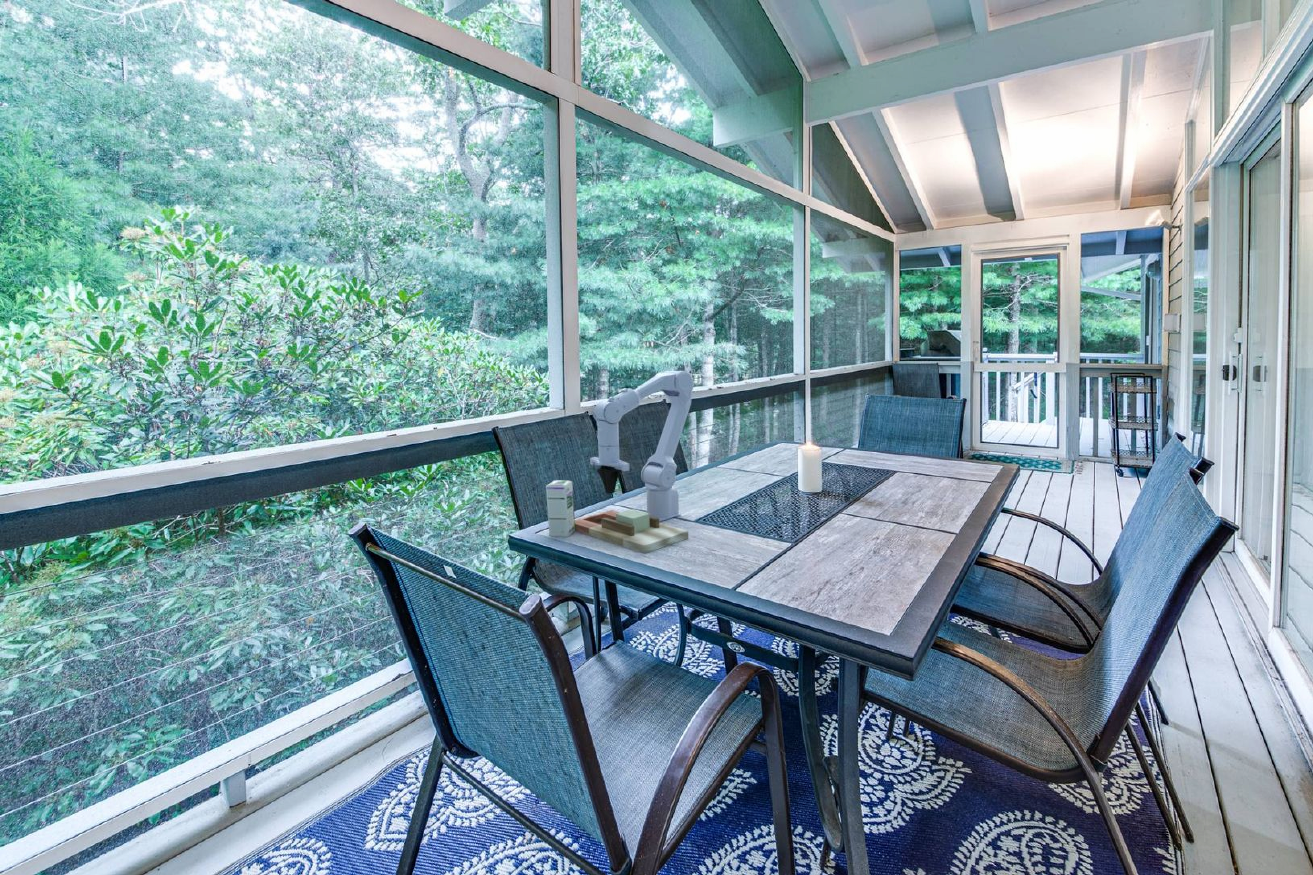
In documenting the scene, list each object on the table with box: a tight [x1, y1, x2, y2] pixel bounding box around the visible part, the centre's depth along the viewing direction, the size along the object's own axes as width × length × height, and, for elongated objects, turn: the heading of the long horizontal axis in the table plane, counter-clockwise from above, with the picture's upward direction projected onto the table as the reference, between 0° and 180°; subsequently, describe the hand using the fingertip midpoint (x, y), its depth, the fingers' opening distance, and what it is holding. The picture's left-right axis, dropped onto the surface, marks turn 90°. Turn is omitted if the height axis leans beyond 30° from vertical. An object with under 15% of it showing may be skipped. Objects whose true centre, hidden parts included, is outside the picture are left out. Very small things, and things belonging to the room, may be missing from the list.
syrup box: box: [545, 479, 576, 537], centre depth 172 cm, size 6×6×14 cm
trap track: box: [574, 509, 689, 554], centre depth 172 cm, size 16×31×4 cm, turn 44°
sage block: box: [616, 508, 650, 533], centre depth 169 cm, size 6×7×4 cm
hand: (610, 492), depth 175 cm, fingers closed
